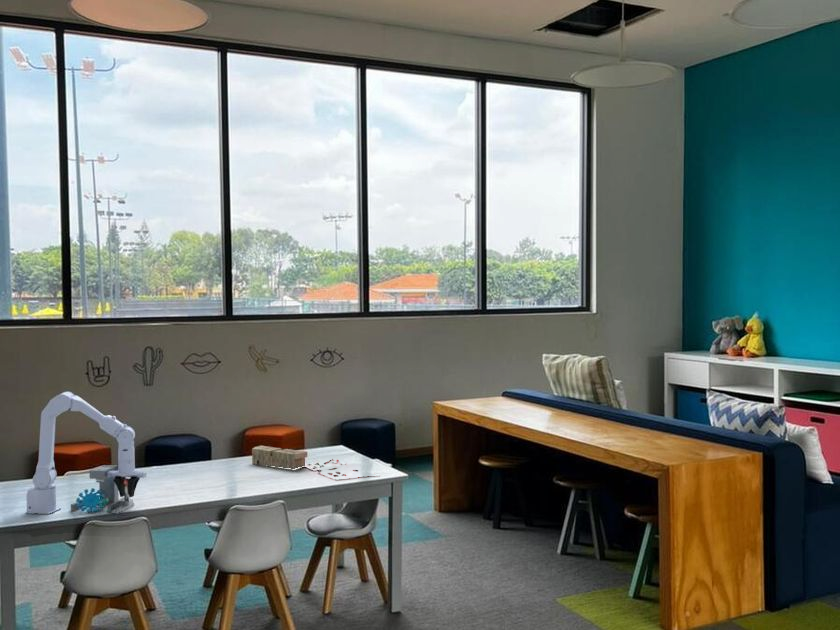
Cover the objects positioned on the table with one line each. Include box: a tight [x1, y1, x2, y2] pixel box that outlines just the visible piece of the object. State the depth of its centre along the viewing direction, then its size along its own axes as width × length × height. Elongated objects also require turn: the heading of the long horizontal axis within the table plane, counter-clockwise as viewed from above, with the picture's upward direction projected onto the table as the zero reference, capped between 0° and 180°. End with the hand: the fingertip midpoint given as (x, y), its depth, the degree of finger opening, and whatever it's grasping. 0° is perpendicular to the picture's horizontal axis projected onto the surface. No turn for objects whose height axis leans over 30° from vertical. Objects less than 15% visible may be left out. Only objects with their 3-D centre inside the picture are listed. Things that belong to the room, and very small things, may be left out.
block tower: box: [251, 445, 308, 469], centre depth 380 cm, size 8×8×29 cm
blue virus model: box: [75, 487, 109, 514], centre depth 305 cm, size 11×6×10 cm
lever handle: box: [121, 477, 134, 505], centre depth 308 cm, size 3×3×10 cm
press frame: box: [70, 464, 135, 515], centre depth 308 cm, size 19×16×14 cm
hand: (127, 496), depth 308 cm, fingers open, 3 cm apart
